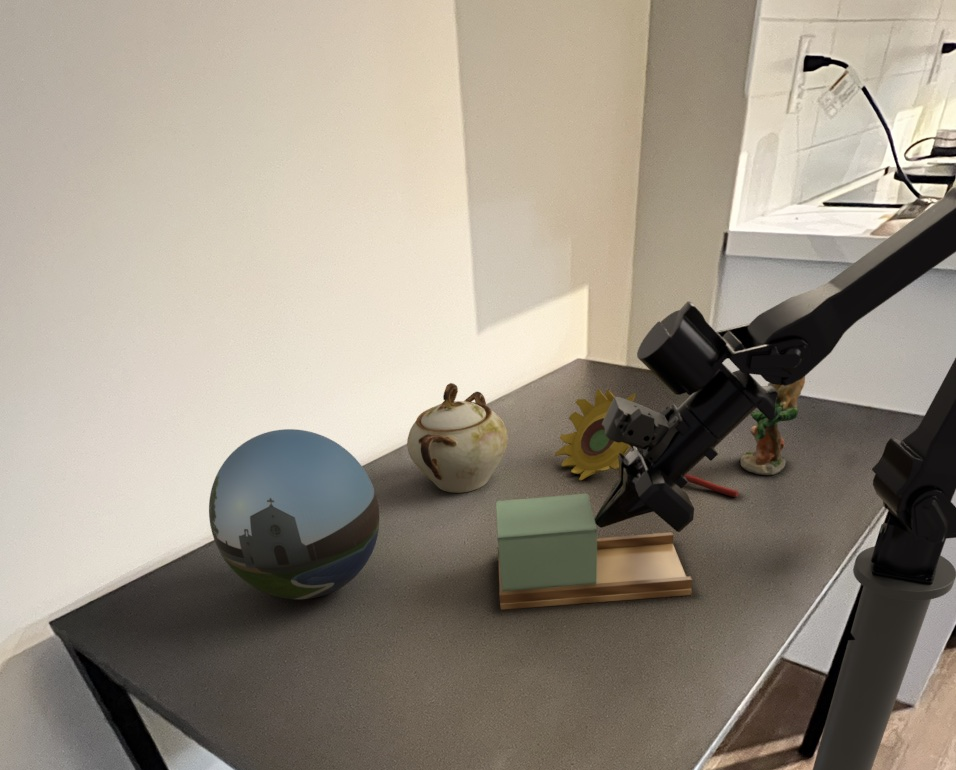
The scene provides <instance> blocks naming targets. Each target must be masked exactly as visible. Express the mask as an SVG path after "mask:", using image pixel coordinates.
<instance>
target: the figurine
mask: <svg viewBox="0 0 956 770" xmlns="http://www.w3.org/2000/svg"><path fill="white" fill-rule="evenodd" d="M805 383H806V376H805V377H803V378H802V379H801V380H799V381H797V382H795V383H793V384H791V385H787V386H784V385H775V384H771V383H769V382H768V383H767V386H769V385H771V386H773V387H774V389H775V390H776V391H777V392H778V396H777V399H776V404H775V418H774V419H773V420H769V419H767V418H766V417H765V416H764V415H763V414H762V412H761V411H760V410H756V411H755V412H754V411H753V412H752V413H751V414H750V416H751V418H752V419H753V420H754V421H755V422H756V423H757V425H752V426H751V428H750V434H751V435H752V436H753V438H754V440H755V442H756V443H757V444H756V448H755V451H754V452H751V451H746V452H745V453H744V454H743V455H742V456H741V457H740V466H741V467H742V469H744V470H746V471H747V472H750V473H753V474H756V475H761V476H773V475H777V474H779V473H780V472H781V471H782V470H783V469H785V466H786V463H787V461H786V457H785V456H783V453H782V450H783V449H784V448H785V447H786V445H785V439H784V438H783V437H782V436H781V433H780V429H779V425H778V423H781V422H789V421H793V420H795V419H797V417H798V413H799V409H798V408H797V406H798V398H799V397H800V395H802V390H803V388H804V386H805Z"/></svg>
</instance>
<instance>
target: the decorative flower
mask: <svg viewBox="0 0 956 770" xmlns="http://www.w3.org/2000/svg"><path fill="white" fill-rule="evenodd" d="M636 395H637V393H635V392H634V393H633V394H631V395H630V396H628V397H627V398H625V399H626V400H629V401H632V402H634V399H635V398H636ZM614 397H615V395H614V394H613V393H612V392H611V391H610V390H609V389H606V390H605V394H603V392H602V390H600V389H599V388H598V389H597V390H595V396H594V405H593V403H591V402H590V401H588V400H587V399H586V398H578V399H576V401H575V404H576V405H577V406H578V407H579V409H580V412H581V413H582V414H580V413H578V412H577V411H574V412H572V413H571V414H570V415H569V417H568V420H570V422H571V423H572V425H573V426H574V428H575V431H574V432H571V433H567V434H563V433H562V434H560V435H559V439H560V440H561V441H562V442H563V443H565V445H563V446H562V447H561V448H559V449H558V450H556V451H555V452H554V457H557V456H563V455H565V456H567V457H566V458H565V459H564V460H563V461H562V463H561V464H560V465H561V467H573V468H572V469H571V471H570V472H571V473H572V474H574V475H575V474H577V475H580V477H579V478H578V481H583V480H585V479H586V478H588V477H590V476H592V475H594V474H598V473H600V472H604V471H607V470H609V469H613V470H617V469H619V459H618V455H619V453H621V454H622V455H623V456H624V457H625V456H626V455H627V453H628V451H629V450H630V449H631V448H632V447H631V446H630V445H629V444H626V443H623V442H619V443H617V442H615V441H612V440H610V439H609V438H608V437H606V435H605V428H604V427H603V426H602V422H603V420H604V418H605V416H606V414H607V412H608V410H609V407H610V405H611V403H612V401H613V399H614ZM685 477H686V479H687V481H688V483H691V484H695V485H698V486H700V487H702V488H706V489H708V490H710V491H713V492H716V493H719V494H722V495H725V496H729V497H732V498H737V497H739V494H740V493H739V491H738V490H735V489H732V488H729V487H725V486H722V485H718V484H716V483H713V482H711V481H708V480H705V479H703V478H700V477H697V476H694V475H691V474H688V473H687V474H686V475H685Z"/></svg>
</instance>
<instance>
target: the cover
mask: <svg viewBox="0 0 956 770" xmlns="http://www.w3.org/2000/svg"><path fill="white" fill-rule="evenodd" d="M495 510H496V512H495V513H496V533H497V536H496V537H497V550H498V549H499V561H500V572H501V584H502V591H511V590H524V589H536V588H549V587H561V586H574V585H586V584H597V538H598V528H597V527H598V526H597V525H596V523H595V516H594V511H593V508H592V505H591V500H590V495H589V493H588V492H587V493H577V494H575V493H574V494H563V495H552V496H541V497H529V498H518V499H506V500H497V501H495Z"/></svg>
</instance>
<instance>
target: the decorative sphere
mask: <svg viewBox="0 0 956 770" xmlns="http://www.w3.org/2000/svg"><path fill="white" fill-rule="evenodd" d="M208 501H209V502H208V516H209V519H208V520H209V525H210V529H211V530H210V531H211V534H212V537H213V540H214V543H215V545H216V547H217V549H218V551H219V554H220V555H221V556H222V558H223V560H224V562H226V564H227V565H228V566H229V567H230V569H231V570H232V571H233V572H234V573H235V574H236V575H237V576H238V577H239V578H241V579H242V580H243V582H246V583H247V584H248V585H250V586H252V587H253V588H255V589H257V590H258V591H260V592H262V593H265V594H268V595H271V596H274V597H277V598H282V599H287V600H309V599H315V598H320V597H324V596H326V595H329V594H332V593H333V592H336V591H338V590H340V589H341V588H343V587H345V586H346V585H347V584H349V583H351V581H352V580H354V579H355V578H356V576H358V575H359V573H360V572H361V571H362V570H363V569H364V567H365V566H366V565H367V563H368V561H369V560H370V558H371V556H372V554H373V551H374V549H375V546H376V544H377V540H378V536H379V530H380V508H379V507H380V506H379V501H378V498H377V493H376V491H375V487H374V485H373V482H372V480H371V479H370V476H369V475H368V473H367V471H366V470H365V469H364V467H363V466H362V464H361V463H360V462H359V461H358V460H357V458H356V457H355V456H353V454H352V453H351V452H350V451H348V450H347V449H346V448H345V447H344V446H342V445H341V444H340V443H338V442H336V441H334V440H332V439H331V438H329V437H328V436H327V437H326V436H325V435H322V434H320V433H316V432H314V431H313V432H312V431H308V430H303V429H295V428H287V429H276V430H271V431H267V432H263V433H260V434H258V435H256V436H254V437H252V438H249V439H248V440H247V441H245V442H243V443H242V444H240V445H239V446H238V447H236V448H235V449H234V450H233V451H232V452H231V453H230V454H229V456H227V458H225V460H224V461H223V463H222V465H221V466H220V467H219V469H218V471H217V473H216V475H215V477H214V480H213V483H212V486H211V489H210V493H209V500H208Z"/></svg>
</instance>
